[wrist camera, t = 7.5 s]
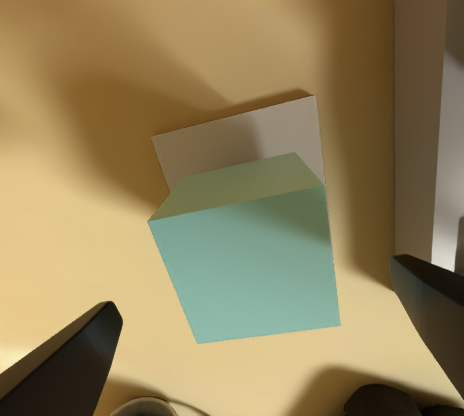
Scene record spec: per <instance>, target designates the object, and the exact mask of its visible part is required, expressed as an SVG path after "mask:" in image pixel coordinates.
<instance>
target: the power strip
mask: <svg viewBox="0 0 464 416" xmlns="http://www.w3.org/2000/svg"><path fill="white" fill-rule="evenodd" d="M394 143H395V255H400V254H409V255H411V256H414V257H417V258H419V259H422V260H424V261H427V262H429V263H432V264H434V265H437V266H440V267H442V268H445V269H447V270H450V271H452V272H455V273H457V274H460V275H463V276H464V0H394ZM395 293H396V292H395ZM396 295H397V294H396Z"/></svg>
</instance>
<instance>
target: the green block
mask: <svg viewBox="0 0 464 416" xmlns="http://www.w3.org/2000/svg"><path fill="white" fill-rule="evenodd" d="M147 222H148V225H149V227H150V230H151V232H152V235H153V237H154V239H155V242H156V244H157V247H158V249H159V252H160V254H161V257H162V259H163V261H164V264H165V266H166V269H167V271H168V274H169V276H170V279H171V281H172V283H173V286H174V288H175V291H176V293H177V296H178V298H179V301H180V303H181V305H182V308H183V310H184V313H185V315H186V318H187V320H188V323H189V325H190V327H191V330H192V332H193V335H194V337H195V340H196V342H197V344H202V343H210V342H217V341H225V340H233V339H241V338H249V337H257V336H265V335H272V334H280V333H288V332H296V331H304V330H312V329H320V328H327V327H335V326H341V324H340V315H339V306H338V298H337V289H336V280H335V271H334V263H333V254H332V245H331V236H330V228H329V219H328V210H327V201H326V193H325V185H324V184H323V183H322V181H321V180H320V179H319V178H318V177H317V176H316V175H315V174H314V173H313V171H312V170H311V169H310V168H309V167H308V166H307V165H306V164H305V162H304V161H303V160H302V159H301V158H300V157H299V156H298V155H297V154H296V152H291V153H286V154H282V155H278V156H273V157H269V158H265V159H260V160H256V161H252V162H247V163H243V164H238V165H234V166H230V167H225V168H221V169H217V170H212V171H208V172H204V173H199V174H195V175H190V176H186V177H184V178H183V179H182V180H181V181H180V183H179V184H178V185H177V186H176V188H175V189H174V190H173V191H172V192H171V194H170V195H169V196H168V197H167V198H166V200H165V201H164V202H163V203H162V204H161V206H160V207H159V208H158V209H157V210H156V212H155V213H154V214H153V215H152V216H151V218H150V219H149V220H148V221H147Z"/></svg>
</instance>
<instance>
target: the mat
mask: <svg viewBox="0 0 464 416" xmlns="http://www.w3.org/2000/svg"><path fill="white" fill-rule="evenodd" d="M150 138H151V141H152V144H153V146H154V149H155V152H156V155H157V158H158V161H159V163H160V166H161V169H162V172H163V175H164V178H165V181H166V183H167V186H168V189H169V192H170V194H171V192H172V191H173V190H174V189H175V188H176V186H177V185H178V184H179V183H180V181H181V180H182V179H183V178H184V177H186V176H190V175H195V174H199V173H204V172H208V171H212V170H217V169H221V168H225V167H230V166H234V165H238V164H243V163H247V162H252V161H256V160H260V159H265V158H269V157H273V156H278V155H282V154H286V153H291V152H296V154H297V155H298V156H299V157H300V158H301V159H302V160H303V161H304V162H305V164H306V165H307V166H308V167H309V168H310V169H311V170H312V171H313V173H314V174H315V175H316V176H317V177H318V178H319V179H320V180H321V181H322V183H323V184H324V185H325V193H326V201H327V192H326V183H325V174H324V165H323V155H322V146H321V137H320V128H319V118H318V109H317V100H316V95H312V96H308V97H304V98H300V99H296V100H292V101H288V102H284V103H280V104H277V105H273V106H269V107H265V108H261V109H257V110H253V111H249V112H245V113H241V114H237V115H233V116H229V117H225V118H221V119H217V120H213V121H210V122H206V123H202V124H198V125H194V126H190V127H186V128H182V129H178V130H174V131H170V132H166V133H162V134H158V135H154V136H152V137H150ZM327 210H328V202H327ZM328 219H329V211H328ZM329 228H330V220H329ZM330 236H331V230H330ZM331 245H332V239H331ZM332 254H333V248H332ZM333 260H334V257H333Z"/></svg>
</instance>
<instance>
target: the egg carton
mask: <svg viewBox="0 0 464 416" xmlns="http://www.w3.org/2000/svg"><path fill="white" fill-rule="evenodd" d="M344 410H345V414H346V416H464V409H461V408H459V409H458V408H453V407H450V406H446V405H435V406H428V407H426V408H424V409H422V410H421V411H419V409H418V408H417V406H416V405H415V403H414V402H413V400H412V399H411V397H410V396H409V394H407V393H405V392H403V391H401V390H398V389H395V388H392V387H389V386H386V385H382V384H371V385H364V386H362V387H360V388H359V389H358V390H357V391H356V392H355V393H354V394H353V395H352V396H351V397H350V398H349V400H348V401H347V402H346V404H345V406H344Z"/></svg>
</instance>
